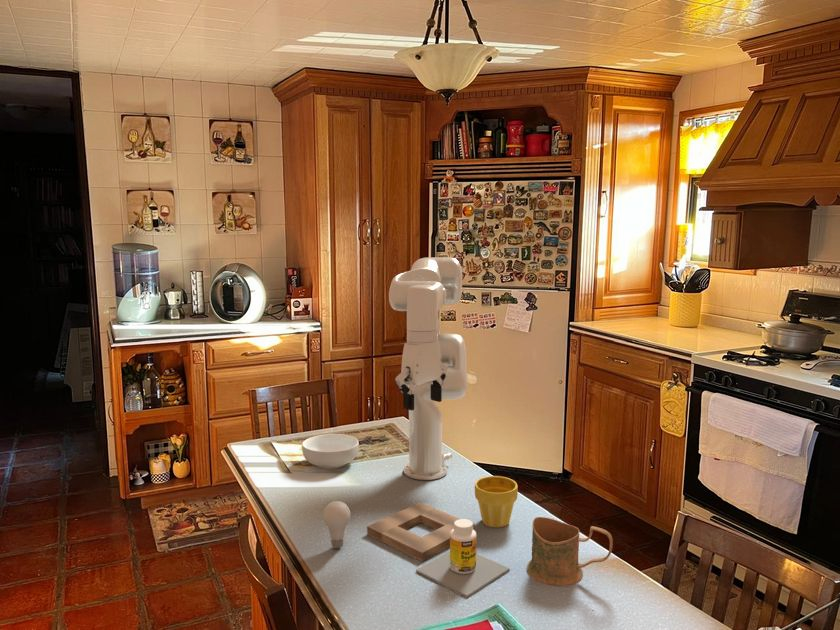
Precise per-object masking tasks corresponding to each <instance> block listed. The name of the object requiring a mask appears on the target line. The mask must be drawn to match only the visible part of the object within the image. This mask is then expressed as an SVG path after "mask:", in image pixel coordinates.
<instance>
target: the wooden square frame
mask: <svg viewBox="0 0 840 630" xmlns="http://www.w3.org/2000/svg"><path fill="white" fill-rule="evenodd" d="M459 519H460V518H459V517H456V516H454V515H452V514H449V513H447V512H444V511H442V510H439V509H436V508H434V507H432V506H429V505H427V504H426V503H422V502H418V503H416V504H413V505H411V506H408V507H407V508H405V509H402V510H400V511H398V512H396V513H394V514H391V515H389V516H387V517H385V518H382V519H380V520H378V521H375V522H374V523H372V524H369V525H367V527H366V532H367V533H366V534H367V535H368V536H370V537H372V538H373V539H376V540H379V541H380V542H382V543H385V544H386V545H388V546H390V547H391V548H392V547H393V548H395V549H397V550H398V551H400V552H403V553H405V554H407V555H408V556H411V557H413V558H414V559H417V560H419V561H420V562H424V561H425V560H427V559H430V558H431V557H433V556H435V555H437V554H439V553H441V552H442V551H444V550H446V549H448V548H450V532H451V531H452V530H453V529H454V522H455V521H456V520H459ZM418 524H423V525H425V526H427V527H430V528H431V529H434V530H433V531H431V532H429V533H428V534H425V535H423V536H420V535H418V534H416V533H413V532H411V531H409V530H408V529H410V528H412V527H414V526H417V525H418ZM473 530H474V531H475V532H476V525H475V523H473Z"/></svg>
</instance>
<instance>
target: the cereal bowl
mask: <svg viewBox="0 0 840 630" xmlns="http://www.w3.org/2000/svg"><path fill="white" fill-rule="evenodd" d="M359 444H360V443H359V440H358V438H356V437H355V436H352V435H349V434H343V433H325V434H320V435H315V436H311V437H308V438H307V439H305V440H304V441H303V442H302V443H301V451H302V455H303V458H304V459H305V460H306V461H307V462H308V463H309V464H311V465H313V466H317V467H318V468H320V469H324V470H336V469H340V468H342V467H343V466H344V465H347V464H348V463H351V462H352V461H353V460H354V459H355V458H356V457H357V455H358V452H359V447H360V445H359Z"/></svg>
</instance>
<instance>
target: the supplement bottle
mask: <svg viewBox="0 0 840 630" xmlns="http://www.w3.org/2000/svg"><path fill="white" fill-rule="evenodd" d="M473 524H474V523H473V521H472V520H471V519H470V520H469V519H466V518H465V519H464V518H459V520H456V521H455V522H454V529H453V530H452V531H451V532H450V547H449V551H450V568H451V569H452V570H453V571H454V572H456V573H459V574H468V573H471V572H473V571H474V570H475V568H476V554H477V531H476V530H475V531H474V530H473Z"/></svg>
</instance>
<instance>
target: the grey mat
mask: <svg viewBox="0 0 840 630" xmlns="http://www.w3.org/2000/svg"><path fill="white" fill-rule="evenodd" d="M509 571H510V567H507V566H505V565H503V564H501V563H498V562H496V561H494V560H492V559H489V558H488V557H485V556H483V555H481V554H478V553H476V568H475V570H474V571H473V572H471V573H468V574H459V573H456V572H454V571H453V570H452V569H451V568H450V550H449V551H448V552H445V553H444V554H442V555H440V556H438V557H437V558H435V559H433V560H431V561H430V562H428V563H426V564H424V565H422V566H420V567H418V568H417V569H416V570H415V572H416V573H418V574H419V575H421V576H424V577H426V578H427V579H429V580H432V581H433V582H435V583H437V584H439V585H441V586H443V587H445V588H447V589H449V590H450V591H453V592H455V593H457V594H459V595H460V596H462V597H464V598H469V597H471V596H473V595H474V594H475V593H477V592H479V591H480V590H482V589H483V588H484V587H486V586H488V585H490V584H491V583H492V582H494V581H496V580H497V579H499V578H500V577H502V576H503V575H505V574H506V573H508V572H509Z"/></svg>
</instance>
